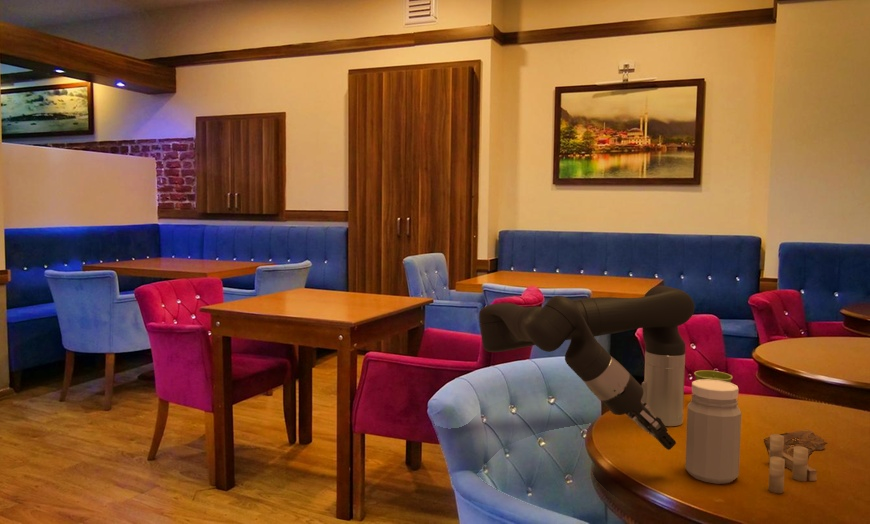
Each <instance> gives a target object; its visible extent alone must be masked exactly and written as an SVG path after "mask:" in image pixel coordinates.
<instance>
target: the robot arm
mask: <svg viewBox="0 0 870 524" xmlns="http://www.w3.org/2000/svg"><path fill="white" fill-rule="evenodd" d="M694 312H695V302H694V300H693V298H692V297H691V296H690V295H689V294H688V293H687V292H685V291H684V290H682V289H679V288H675V287H670V286H667V285H656V286H654V287H651V288H650V289H649V290H648V291H647V292H646V293H645V296H639V297H613V296H611V297H610V296H603V297H602V296H598V297H596V296H595V297H588V298H586V297H585V298H580V299H579V298H578V299H572V300H571V299H570V298H568V297H566V296H563V295H555V296H553V297H551V298H550V299H549V300H547V302H546V303H545V304H544V306H525V307H524V306H522V305H519V304H516V303H512V302H511V303H510V302H500V303H492V304H488V305H485V306H483V307H482V308H481V309H480V310H479V312H478V313H479V314H478V319H479V321H478V322H479V328H480V335H481V341H482V342H481V343H482V347H483V349H484V350H485V351H486V352H489V353H499V352H501V353H502V352H506V351H513V350H518V349H522V348H528V347H531V346H536V347H538V349H540V350H541V351H544V352H546V353H548V352H549V353H551V352H554V351H556V350H558V349H559V348H560V347H561V346H562V345H563V344H564V343H565V342H566V341H570V343H569V345H568V348H567V349H566V352H565V355H564V360H565V364H566V365H567V366H568V367H569V368H570V369H571V370H572V371H573V372H574V373H575V374H576V375H577V376H578V378H580V379H581V380H582V381H583V383H585V385H586V386H587V388H588V389H589V390H590V392H591V393H593V395H595V397H596V398H597V399H598V400H599V401H600V402H601V403H602V404H603V405H604V406H605V407H606V408H607V409H608V410H609V411H610V412H611V413H612V414H613V415H616V416H623V415H625V416H627V417H628V418H629V419H630V420H632V421H633V422H634V423H635V424H637V425H638V427H639V428H641V429H643V430H644V432H646V433H648V434H649V435H651V436H652V437H653V438H654V439H656V440H657V441H658V443H660V445H661V446H663V447H664V448H665V449H666V450H668V451H670V450H672V448H674V446H675V445H676V444H677V442H676V440H675V439H674V438H673V437H672V436H671V435H670V434H669V433H668V428H667V427H677V426H681V425H682V424H683V421H684V400H685V399H684V397H685V396H684V395H685V370H686V368H685V366H686V364H685V363H686V342H685V340H684V339H683V338H682V336H681V334H680V332H679V329H678V328H679V326H681V325H683V324H686V323H687V322H689V320H690V319H691V318H692V317H693V315H694ZM637 329H642V330H641V331H642V339H643V341H644V345H645V346H644V350H645V351H644V353H645V354H644V380H643V382H641V384H640V383H639V382H638V380H636V379H635V377H634V376H633V375H632V374H631V373H630V372H629V371H628V370H627V369H626V368H625V367H624V366H623V365H622V364H621V363H620V362H619V361H618V360H616V358H614V357H613V356H611V354H610V353H609V352H608V351H607V349H605V348H604V347H603V346H602V345H601V344H600V343H599V341H597V338H596V337H601V336H605V335H611V334H616V333H622V332H627V331H632V330H637Z"/></svg>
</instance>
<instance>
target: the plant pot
mask: <svg viewBox="0 0 870 524" xmlns="http://www.w3.org/2000/svg"><path fill="white" fill-rule="evenodd" d="M693 374H694V376H695V381H696V380H703V379H710V380H720V381H725V382H730V383H731V381H732V380H733V375H732V374H729V373H726V372H722V371H718V370H717V371H716V370H707V369H706V370H702V369H701V370H697V371H694V372H693Z"/></svg>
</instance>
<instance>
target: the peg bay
mask: <svg viewBox="0 0 870 524" xmlns="http://www.w3.org/2000/svg"><path fill="white" fill-rule="evenodd" d="M779 434H780V433H779ZM779 434H778V433H771V434H770V436H769V437H770V454H769V455H768V456H769V457H768V458H769V460H768V464H769V472H768V491H770V492H771V493H773V494H783V493H784V487H785V485H784V484H785V468H786V467H787V468H786V469H788V468H789V469H788V470H790V469H791V470H790V471H791V472H792V476H791V477H792V479H793V480H795V481H798V482H807V481H808V482H816V481H817V475H818V471H817V470H816V469H815V468H813V467H811V466H809V465H808V462H809V457H808V456H809V455H808V449H807V448H805V447H801V446H795V447H794V455H793V457H791V456H790V455H788V454H786V453H783V445H784V436H782V435H779ZM785 466H786V467H785Z"/></svg>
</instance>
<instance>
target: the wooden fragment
mask: <svg viewBox="0 0 870 524" xmlns="http://www.w3.org/2000/svg"><path fill="white" fill-rule="evenodd" d="M807 430H808V431H802V430H797V431H791V432H784V433H779V435H782V436H784V445H783V453H786V454H788V455H790V456H791V457H793V455H794V447H795V446H801V447H805V448H807V449H808V458H810V455H812V454H813V452H814V451H816V452H817V451H818V452H819V451H821V450H824V449H826V447H825V444H828V442H827V441H825V440H824V439H823V438H822V437H821V436H818V435H817V434H815V433H814V431H812V430H810V429H807ZM795 438H796V439H795ZM792 439H794V440H792ZM797 439H799V440H797ZM763 440H764V442H765V445H766V448H767V452H768V455H770V436H769V437H765V439H763ZM795 440H796V441H795ZM791 445H794V446H791Z"/></svg>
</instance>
